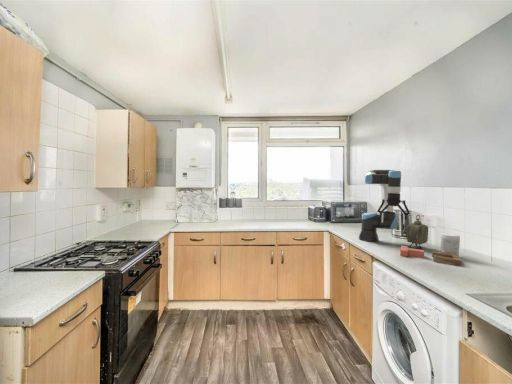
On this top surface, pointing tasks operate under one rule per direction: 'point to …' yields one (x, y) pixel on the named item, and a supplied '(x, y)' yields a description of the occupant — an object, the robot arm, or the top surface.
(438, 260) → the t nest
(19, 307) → the top surface
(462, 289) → the top surface
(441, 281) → the top surface
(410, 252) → the t block
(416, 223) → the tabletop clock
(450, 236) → the supplement tub
